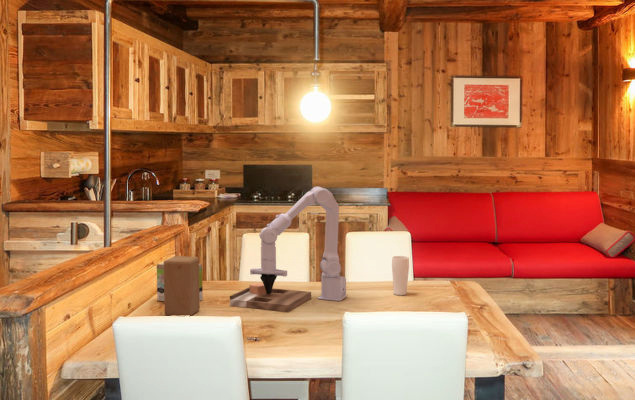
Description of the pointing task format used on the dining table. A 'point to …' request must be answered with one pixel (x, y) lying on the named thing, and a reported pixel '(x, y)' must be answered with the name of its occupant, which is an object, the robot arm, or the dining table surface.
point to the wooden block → (181, 285)
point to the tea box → (161, 282)
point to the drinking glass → (400, 274)
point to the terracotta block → (257, 288)
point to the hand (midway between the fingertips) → (268, 293)
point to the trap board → (270, 299)
